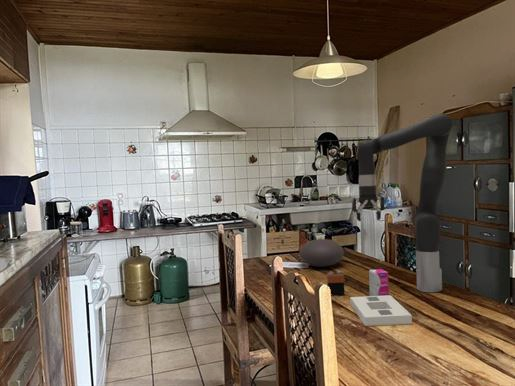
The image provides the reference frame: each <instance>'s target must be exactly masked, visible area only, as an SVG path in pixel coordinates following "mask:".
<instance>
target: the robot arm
mask: <svg viewBox="0 0 515 386" xmlns="http://www.w3.org/2000/svg"><path fill="white" fill-rule="evenodd" d="M453 123H454V122H453V118H451V116H450V115H448V114H446V113H437V114H435V115H433V116H431V117H429V118H428V119H426V120H423V121H421V122H419V123H416V124H414V125H411V126H407V127H405V128H401V129H397V130H394V131H390V132H388V133H385V134H382V135H380V136H378V137H375V138H373V139H372V138H371V139H367V140H366V139H365V140H364V139H363V140H361V141H360V142H359V143H358V145H357V149H356V152H357V159H358V160H357V161H358V196H359V197H358V198H354V197H353V198H352V199H351V201H352V202H351V211H352V212H354V213H355V214H356V220H357V221H358V222H361V221H362V219H361V218H362V217H361V211H362V210H363V209H364V208H374V210H376V212H375V213H376V214H375V215H376V221H380V219H382V218H381V217H382V216H381V215H382V214H381V212H383V211H385V209H386V207H385V205H386V204H385V198H384V196H379V197H377V178H376V166H375V162H374V155H376V154H379V153H382V152H384V151H389V150H392V149H395V148H399V147H402V146H404V145H407V144H409V143H411V142H415V141H418V140H421V139H424V138H428V139H427V141H428V142H427V150H426V153H425V155H424V156H425V157H424V159H423V160H424V161H423V164H422V168H421V175H420V185H419V200H418V205H417V209H416V214H415V217H414V221H413V224H414V227H415V231H416V232H415V233H416V234H415V235H416V236H415V237H416V241H415V263H416V264H415V265H416V289H417V291H420V292H423V293H438V292H442V291H443V276H442V275H443V274H442V271H443V270H442V268H441V267H440V244H441V243H440V242H441V236H440V235H441V230H440V229H441V227H440V226H441V225H440V220H439V219H438V218H437V208H438V207H437V206H438V201H439V197H440V196H441V193H442V190H443V187H444V184H445V178H446V171H447V146H448V140H449V137H450V133H451V131H452V129H453ZM358 202H359V205H358V206H357V204H358ZM377 202H379V205H378V204H377Z"/></svg>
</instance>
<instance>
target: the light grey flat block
mask: <svg viewBox="0 0 515 386" xmlns="http://www.w3.org/2000/svg"><path fill="white" fill-rule="evenodd" d="M349 299H350V306H351V307H352V309H353V310H354V312H355V314H356V315H357V316H358V318H359V319H360V321H361V322H362V324H363V325H364V327H373V326H392V325H393V326H395V325H412V324H413V319H412V318H413V317H412V316H413V315H412V314H411V313H410V312H409V311H408V310H407V309H406V308H404V306H403V305H402V304H400V303H399V302H398V301H397V300H396V299H395V298H394V297H393V296H392V295H391V294H389V295H385V296H370V295H366V296H352V297H351V296H350V298H349Z"/></svg>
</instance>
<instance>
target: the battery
mask: <svg viewBox="0 0 515 386" xmlns="http://www.w3.org/2000/svg"><path fill="white" fill-rule="evenodd" d="M326 276H327V277H326V278H327V287H328V286H329V287H330V289H331V294H332V295H333V296H334V295H337V296H345V295H346V293H345V275H344V273H343V271H342V270H336V271H335V272H334V271H329V272H327V273H326ZM334 297H335V296H334Z"/></svg>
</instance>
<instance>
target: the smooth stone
mask: <svg viewBox="0 0 515 386" xmlns="http://www.w3.org/2000/svg"><path fill="white" fill-rule="evenodd" d="M344 252H345V251H344V248H343V247H342V246H341V245H340V244H339V243H338V242H336V241H334V240H331V239H325V238H323V239H322V238H317V239H313V240H309V241H307V242H305V243H304V244H303V245H302V246H301V247H300V249H299V253H298V254H299V257H300V259H301V260H302V262H304V263H306V264H307V265H309V266H312V267H321V268H322V267H323V268H324V267H330V266H331V267H332V266H333V265H336V264H337V263H339V262H340V261H341V260H342V259H343V257H344Z"/></svg>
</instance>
